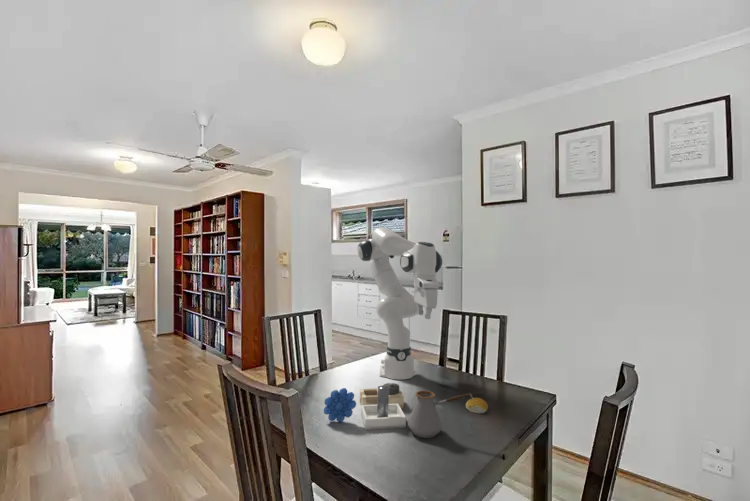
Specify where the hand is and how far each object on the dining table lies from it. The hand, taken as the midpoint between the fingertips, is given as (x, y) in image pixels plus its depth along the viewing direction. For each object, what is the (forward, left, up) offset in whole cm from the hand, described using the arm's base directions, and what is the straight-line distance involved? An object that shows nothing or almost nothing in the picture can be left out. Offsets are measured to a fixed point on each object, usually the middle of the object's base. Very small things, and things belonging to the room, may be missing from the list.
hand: (424, 316), depth 149 cm
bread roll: (+7, +20, -35) cm, 41 cm away
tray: (+13, -19, -35) cm, 42 cm away
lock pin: (+13, -19, -34) cm, 41 cm away
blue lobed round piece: (+11, -34, -35) cm, 50 cm away
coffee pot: (+25, -2, -35) cm, 43 cm away
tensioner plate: (-1, -17, -35) cm, 39 cm away
